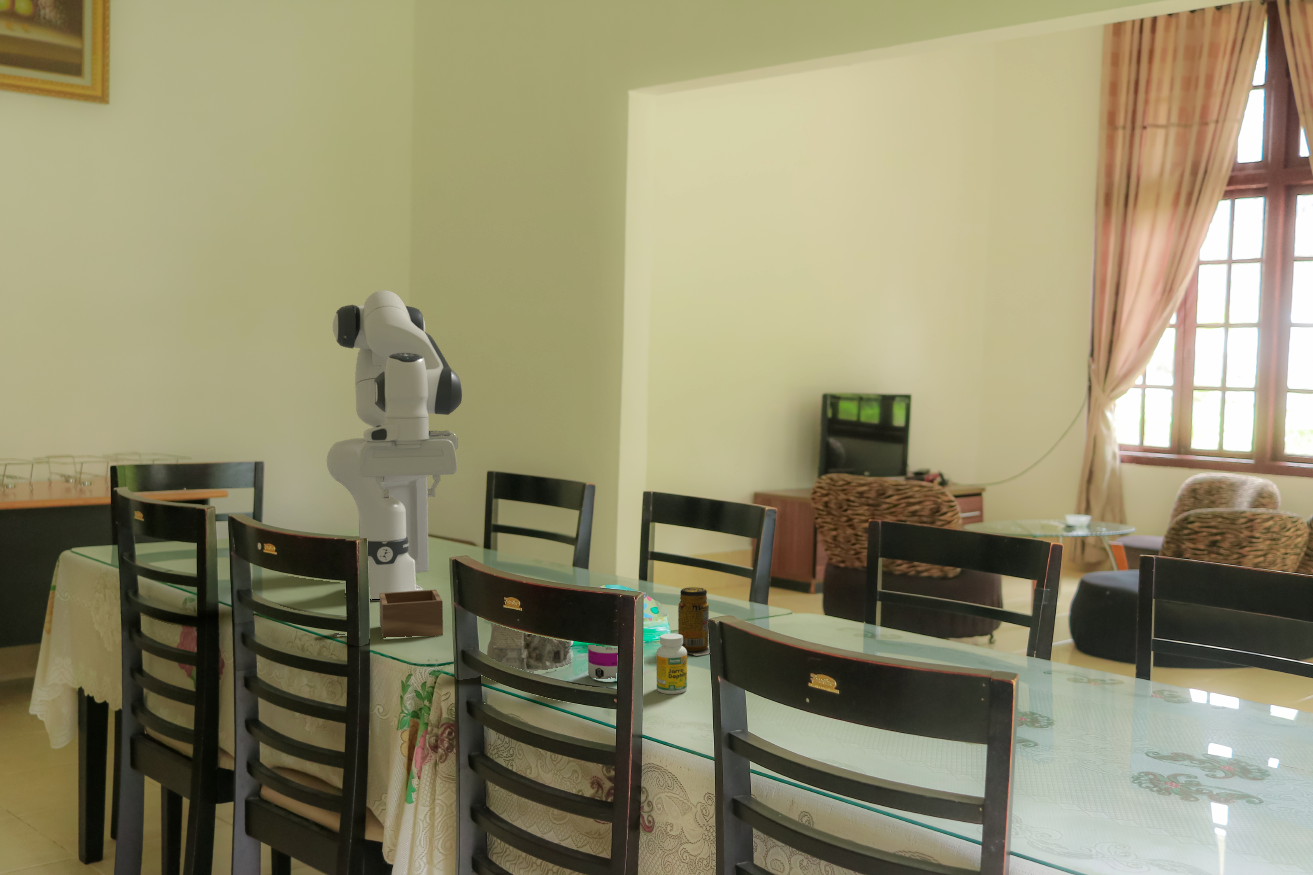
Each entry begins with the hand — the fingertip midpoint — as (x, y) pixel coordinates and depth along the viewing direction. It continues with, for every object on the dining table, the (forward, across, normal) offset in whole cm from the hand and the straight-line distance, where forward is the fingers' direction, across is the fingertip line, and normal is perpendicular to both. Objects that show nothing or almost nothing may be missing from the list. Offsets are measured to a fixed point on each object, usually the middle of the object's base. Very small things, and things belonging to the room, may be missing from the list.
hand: (408, 497), depth 224 cm
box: (+29, 0, 0) cm, 29 cm away
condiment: (+29, -53, +30) cm, 68 cm away
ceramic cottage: (+30, -19, +32) cm, 47 cm away
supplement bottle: (+29, -40, +54) cm, 73 cm away
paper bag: (+29, +1, -73) cm, 79 cm away
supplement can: (+29, -32, +43) cm, 61 cm away
